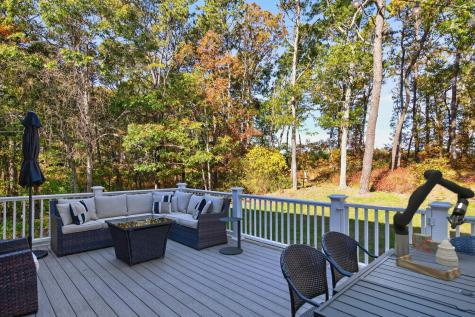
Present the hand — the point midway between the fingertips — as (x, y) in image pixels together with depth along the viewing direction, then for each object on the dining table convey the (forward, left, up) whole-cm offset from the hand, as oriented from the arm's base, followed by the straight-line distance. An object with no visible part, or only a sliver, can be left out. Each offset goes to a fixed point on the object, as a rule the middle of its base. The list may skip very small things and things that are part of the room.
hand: (452, 228), depth 200 cm
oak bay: (-27, -27, -23) cm, 45 cm away
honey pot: (-8, -8, -24) cm, 26 cm away
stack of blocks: (-9, +24, -24) cm, 35 cm away
